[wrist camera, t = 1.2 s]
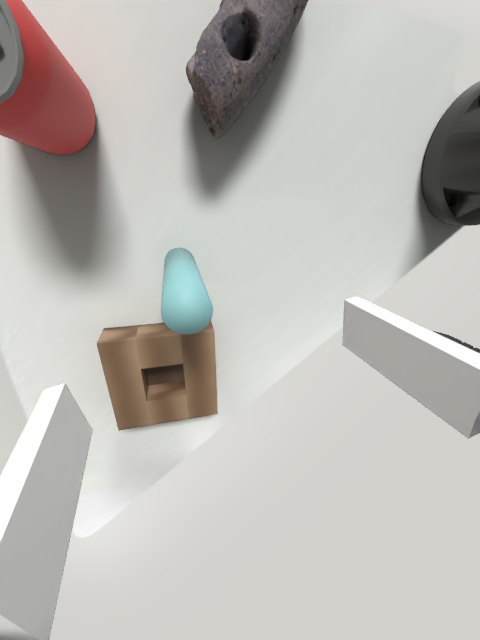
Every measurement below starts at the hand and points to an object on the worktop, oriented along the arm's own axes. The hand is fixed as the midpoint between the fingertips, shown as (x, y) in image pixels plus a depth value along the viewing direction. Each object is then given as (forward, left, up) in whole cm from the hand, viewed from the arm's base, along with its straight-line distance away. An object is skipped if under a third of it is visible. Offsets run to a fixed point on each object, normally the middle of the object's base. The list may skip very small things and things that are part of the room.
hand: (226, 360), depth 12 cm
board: (+4, +13, -19) cm, 24 cm away
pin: (+1, 0, -19) cm, 19 cm away
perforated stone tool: (-6, -18, -20) cm, 28 cm away
